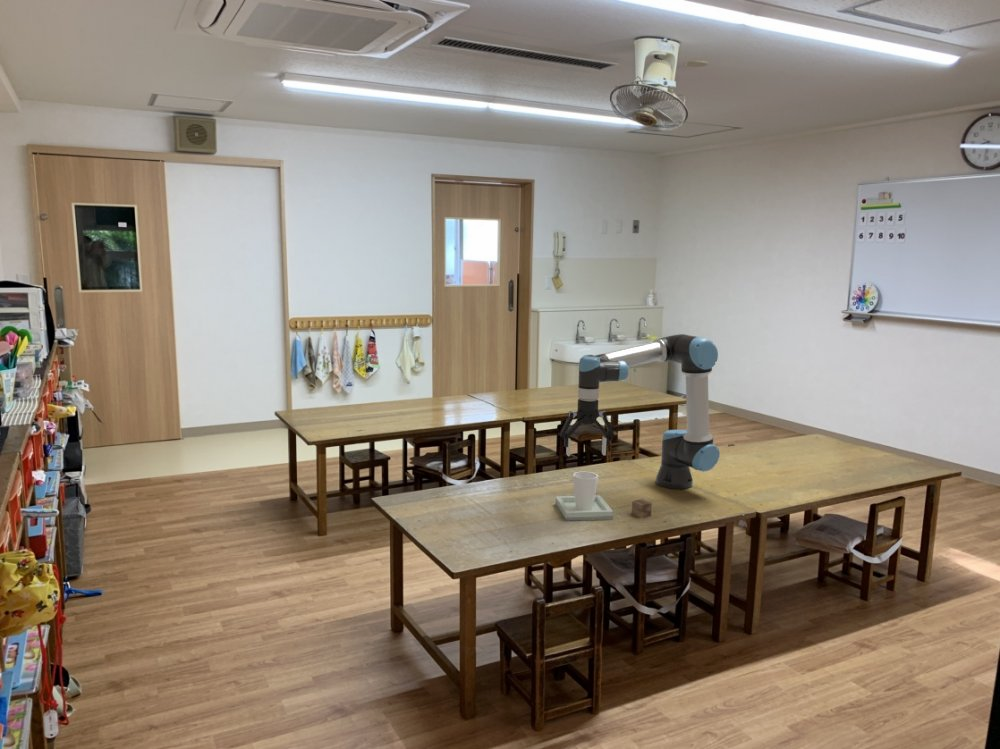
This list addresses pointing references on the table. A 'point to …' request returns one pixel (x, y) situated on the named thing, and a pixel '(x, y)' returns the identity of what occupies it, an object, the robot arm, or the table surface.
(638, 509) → the walnut block
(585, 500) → the foam cup
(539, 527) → the table surface
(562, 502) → the tray
